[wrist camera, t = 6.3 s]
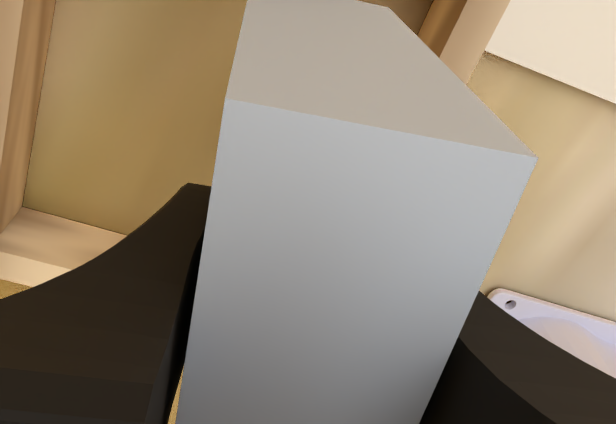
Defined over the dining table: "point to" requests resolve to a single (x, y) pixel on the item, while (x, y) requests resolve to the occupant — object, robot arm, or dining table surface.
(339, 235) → the tall block
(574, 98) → the dining table surface
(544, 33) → the beige panel
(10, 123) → the wooden tray
